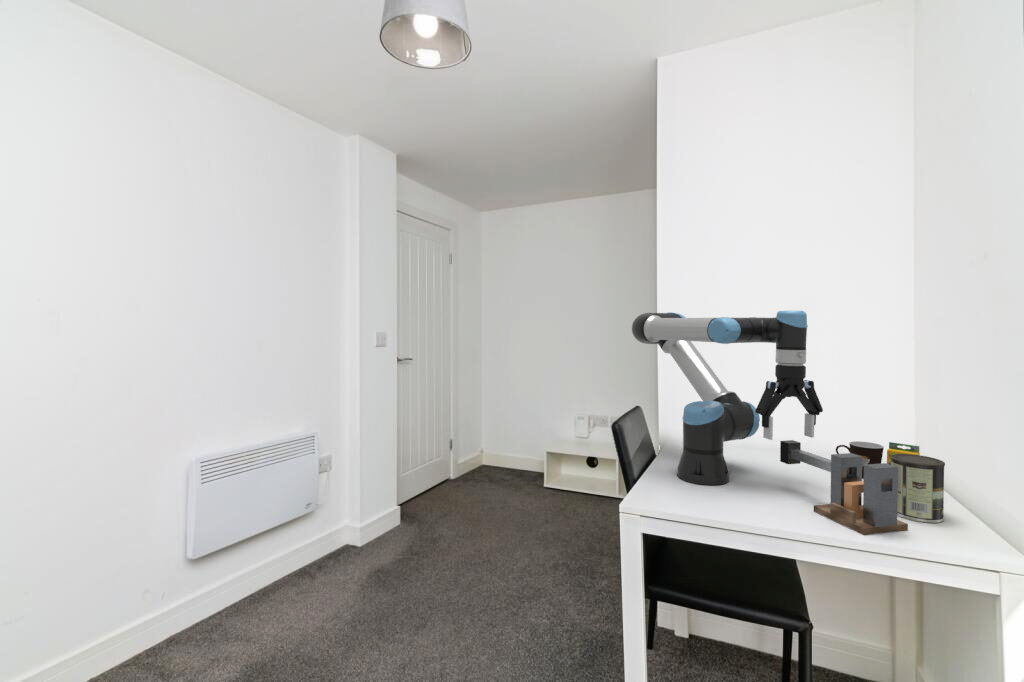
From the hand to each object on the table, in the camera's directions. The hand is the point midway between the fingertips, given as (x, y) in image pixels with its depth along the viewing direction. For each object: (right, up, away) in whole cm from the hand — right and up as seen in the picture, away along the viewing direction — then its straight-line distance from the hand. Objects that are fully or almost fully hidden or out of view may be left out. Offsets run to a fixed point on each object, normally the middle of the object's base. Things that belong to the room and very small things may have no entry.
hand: (788, 437), depth 136 cm
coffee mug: (+30, -15, +13) cm, 36 cm away
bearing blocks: (+5, -14, -23) cm, 27 cm away
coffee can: (+21, -16, -18) cm, 32 cm away
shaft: (+2, -7, -8) cm, 11 cm away
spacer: (+4, -14, -22) cm, 27 cm away
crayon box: (+37, -15, +5) cm, 40 cm away
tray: (+4, -16, -22) cm, 27 cm away
